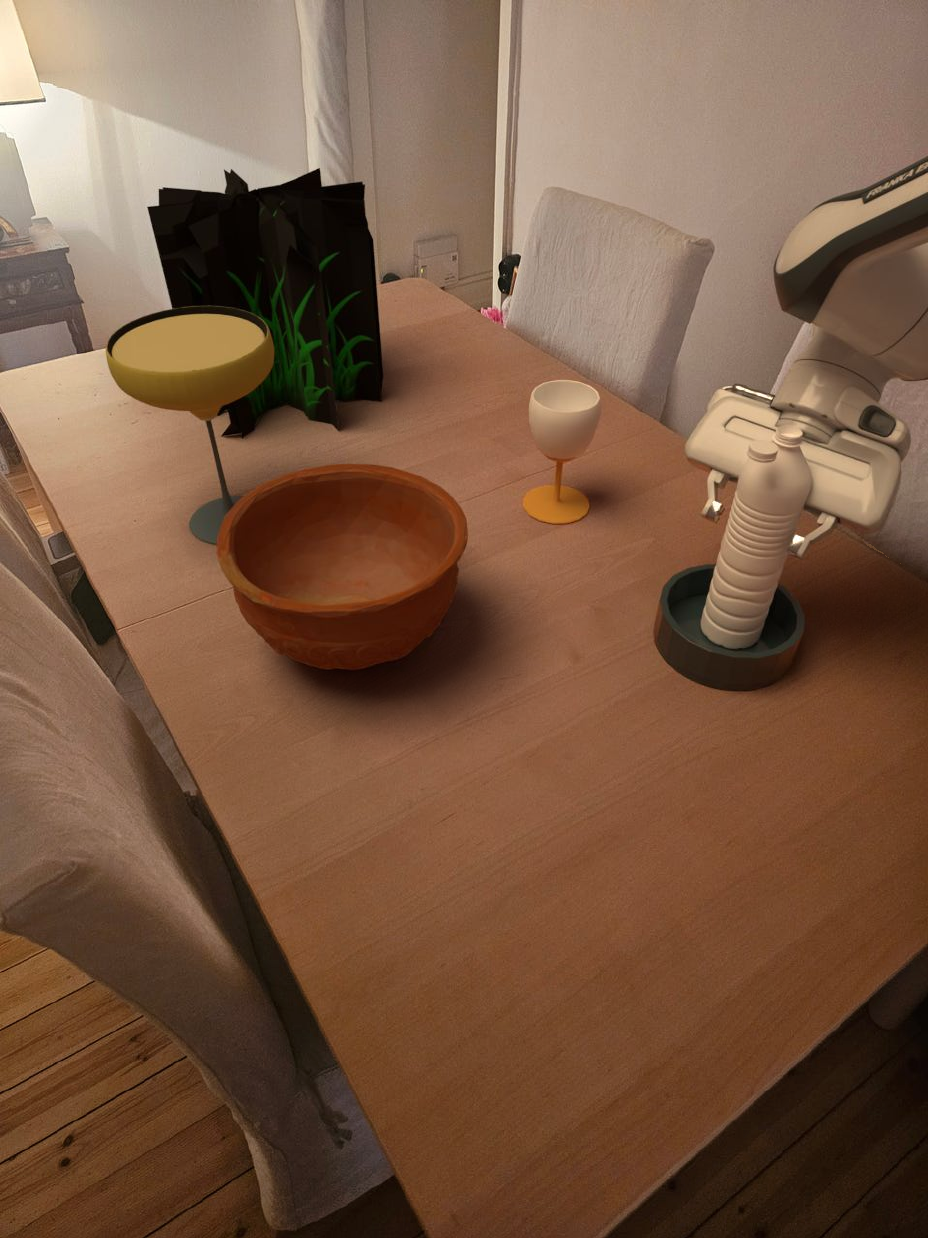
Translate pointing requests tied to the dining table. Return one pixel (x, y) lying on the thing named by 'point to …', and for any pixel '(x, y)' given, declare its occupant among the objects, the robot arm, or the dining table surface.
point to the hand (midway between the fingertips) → (750, 537)
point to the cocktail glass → (193, 374)
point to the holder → (716, 663)
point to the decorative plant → (282, 285)
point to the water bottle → (757, 539)
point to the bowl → (344, 562)
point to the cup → (561, 444)
